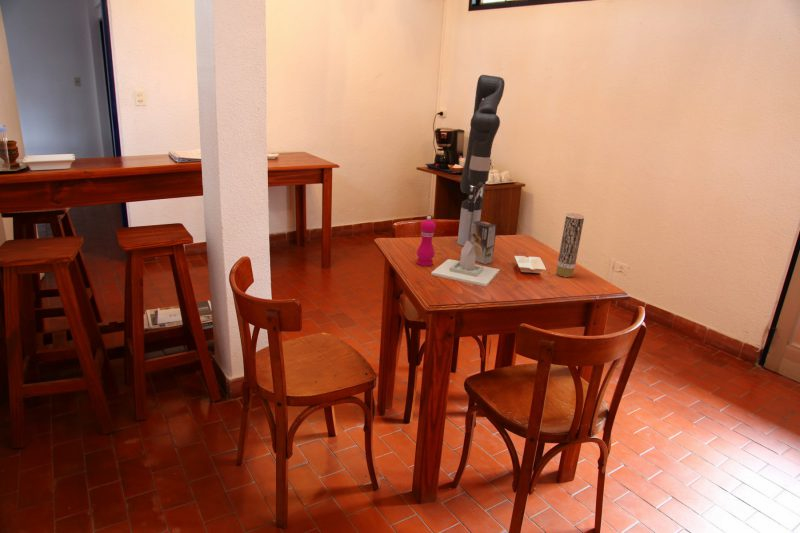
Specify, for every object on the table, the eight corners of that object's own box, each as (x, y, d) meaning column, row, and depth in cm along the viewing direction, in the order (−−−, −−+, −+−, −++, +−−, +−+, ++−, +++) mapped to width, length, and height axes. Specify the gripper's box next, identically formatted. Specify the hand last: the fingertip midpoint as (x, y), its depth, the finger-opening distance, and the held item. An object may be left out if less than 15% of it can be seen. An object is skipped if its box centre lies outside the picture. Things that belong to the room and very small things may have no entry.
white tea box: (465, 270, 208) (468, 245, 205) (459, 264, 214) (462, 240, 211) (474, 270, 209) (477, 245, 205) (468, 264, 215) (471, 240, 212)
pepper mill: (432, 267, 216) (436, 219, 209) (414, 265, 217) (418, 217, 210) (434, 262, 222) (439, 215, 216) (417, 260, 224) (421, 213, 217)
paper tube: (561, 271, 223) (571, 212, 215) (576, 276, 219) (587, 216, 210) (552, 274, 218) (563, 214, 210) (567, 279, 214) (579, 218, 206)
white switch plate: (448, 261, 225) (448, 255, 224) (499, 271, 217) (500, 265, 216) (431, 274, 207) (431, 268, 207) (486, 286, 199) (487, 280, 199)
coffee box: (493, 261, 229) (498, 225, 224) (484, 264, 224) (489, 227, 219) (475, 256, 235) (480, 220, 230) (466, 258, 230) (471, 222, 225)
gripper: (483, 172, 196) (478, 215, 202) (494, 167, 208) (488, 207, 214) (464, 169, 199) (459, 211, 204) (475, 164, 211) (470, 204, 217)
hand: (474, 209), depth 209 cm, fingers open, 8 cm apart
